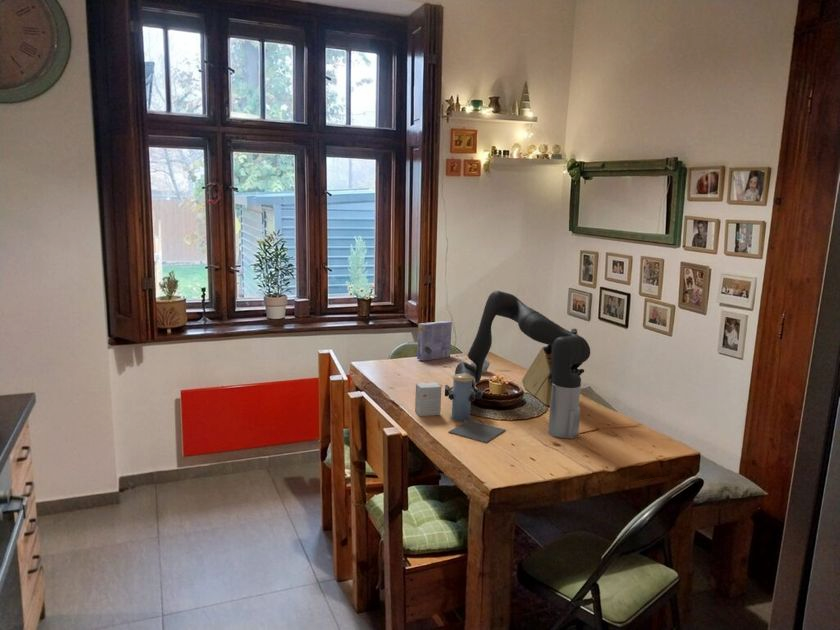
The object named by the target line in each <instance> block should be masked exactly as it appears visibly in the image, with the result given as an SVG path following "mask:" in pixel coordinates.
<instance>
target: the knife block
mask: <svg viewBox="0 0 840 630" xmlns="http://www.w3.org/2000/svg"><path fill="white" fill-rule="evenodd" d="M570 332H572V333H574V334H577V335H579V334H578V329H577V328H575V327H574V328H571V331H570ZM537 353H538V354H537V355H536V356H535V358H534V360H533V361H532V363H531V364H530V366H529V368H528V370H527V371H526V372H525V374H524V376H523V378H522V381H521V382H522V386H523V388H524V389H525V390H526V391H528V392H529V393H530V394H531V395H533V396H534V397H536V398H537V399H538V400H539V401H540V402H541V403H542V404H544V406H547V407H550V402H551V390H552V374H551V355H552V346H551V345H546V346H542V347H541V348H540V350H539V352H537ZM582 365H583V363H579V364H571V373H574V374H576V375H578V376H580V377H581V375H582V374H584V373H585V368H579V367H581V366H582Z"/></svg>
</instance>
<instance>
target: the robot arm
mask: <svg viewBox="0 0 840 630" xmlns="http://www.w3.org/2000/svg"><path fill="white" fill-rule="evenodd" d="M496 316H499V317H501V318H502V317H503V318H506V319H509V320H512V321H514V322H516V323H517V324H518V327H519V330H520V331H521V332H522V333H523V334H524V335H526V336H527V337H528V338H530V339H532V340H533V341H535V342H538V343H541V344H545V345H546V346H548V345H551V346H552V355H551V374H552V390H551V402H550V406H549V413H548V414H549V416H548V417H549V418H548V426H547V428H548V429H547V432H548V434H549V435H550V436H553V437H555V438H561V439H570V440H571V439H572V440H573V439H574V438H575V437H576V436H579V435H578V434H579V429H580V420H581V419H580V418H581V417H580V416H581V409H582V408H581V406H580V398H581V397H580V395H581V387H582V385H581V384H582V377H581V375H580V376H578V375H576V374H574V373H571V364H579V363H582V364H583V363H585V362H586V361H588V360H589V358H590V356H591V348H590V346H589V343H588V341H587V340H586V339H585V338H584V337H582V336H581V335H579V334H578V333H577V334H578V335H577V334H574V333H572V332H571V331H570V330H568V329H566V328H564V327H562V326H561V325H559V324H558V323H557V322H555V321H553V320H552V319H549V318H548V317H547V316H545V315H544V314H542V313H541V312H539V311H537V310H535V309H534V308H531V307H529V306H527V305H526V304H525V303H524V302H522V300H520V299H519V298H518V297H517V296H516V295H514V294H512V293H508V292H504V291H501V290H494V291H492V292H491V293H490V294H489V295H488V297H487V299H486V303H485V306H484V309H483V313H482V314H481V319H480V322H479V325H478V329H477V333H476V335H475V337H474V340H473V342H472V344H471V346H470V348H469V351H468V353H467V358H468V359H469V360H470V361H471V362H474V363H475V364H476V367H475V366H472V365H471V363H468V362H464V361H463V362H459V363H458V364H457V366H455V370H454V375H456V374H467V375H471V376H472V389H471V398H470V402H471V403H472V402H474V401H475V400H481V399H482V396H483V391H484V388H483V387H479V388H477V389H476V385H477V384H479V383H480V381H481V378H482V374H483V373H482V368H483V364H484V361H485V358H486V356H487V357H488V354H489V353H490V352H489V351H490V349H491V348H492V342H493V336H492V325H493V321H494V320H495V318H496ZM478 382H479V383H478ZM476 383H477V384H476ZM444 397H448V399H449V400H450V401H453V386H452V387H450V386H449V385H448V384H445V386H444Z"/></svg>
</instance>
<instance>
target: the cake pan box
mask: <svg viewBox="0 0 840 630" xmlns="http://www.w3.org/2000/svg"><path fill="white" fill-rule="evenodd" d="M417 324H418V325H417V326H418V327H417V350H416V359H417V360H419V361H422V362H424V361H430V360H440V359H443V358H450V357H451V348H452V347H451V346H452V344H451V343H452V325H453V323H452V321H447V320H445V321H444V320H443V321H434V322H432V321H431V322H424V323H423V322H421V323H417Z"/></svg>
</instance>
